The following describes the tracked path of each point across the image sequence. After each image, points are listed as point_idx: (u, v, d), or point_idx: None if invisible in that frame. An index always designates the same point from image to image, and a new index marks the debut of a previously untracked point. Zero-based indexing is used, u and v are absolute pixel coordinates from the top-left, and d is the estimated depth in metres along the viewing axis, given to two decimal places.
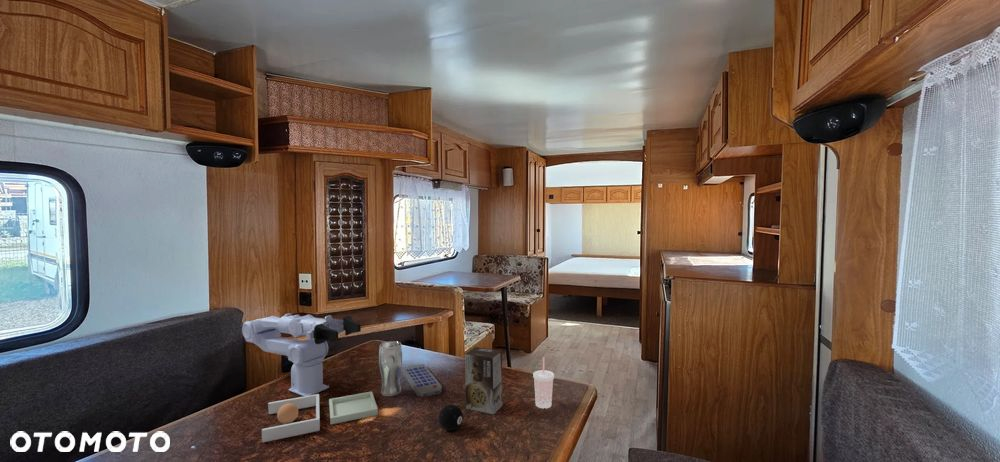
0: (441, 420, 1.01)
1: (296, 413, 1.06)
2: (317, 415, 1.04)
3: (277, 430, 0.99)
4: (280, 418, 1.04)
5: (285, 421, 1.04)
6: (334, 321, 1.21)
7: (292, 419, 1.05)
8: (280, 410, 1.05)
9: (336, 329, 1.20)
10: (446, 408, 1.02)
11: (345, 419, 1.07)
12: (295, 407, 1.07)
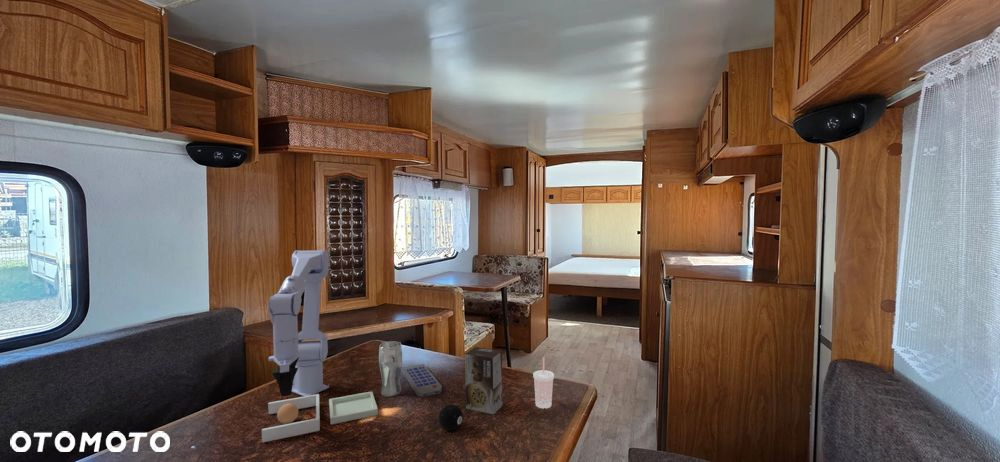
0: (441, 420, 1.01)
1: (296, 413, 1.06)
2: (317, 415, 1.04)
3: (277, 430, 0.99)
4: (280, 418, 1.04)
5: (285, 421, 1.04)
6: None
7: (292, 419, 1.05)
8: (280, 410, 1.05)
9: None
10: (446, 408, 1.02)
11: (345, 419, 1.07)
12: (295, 407, 1.07)
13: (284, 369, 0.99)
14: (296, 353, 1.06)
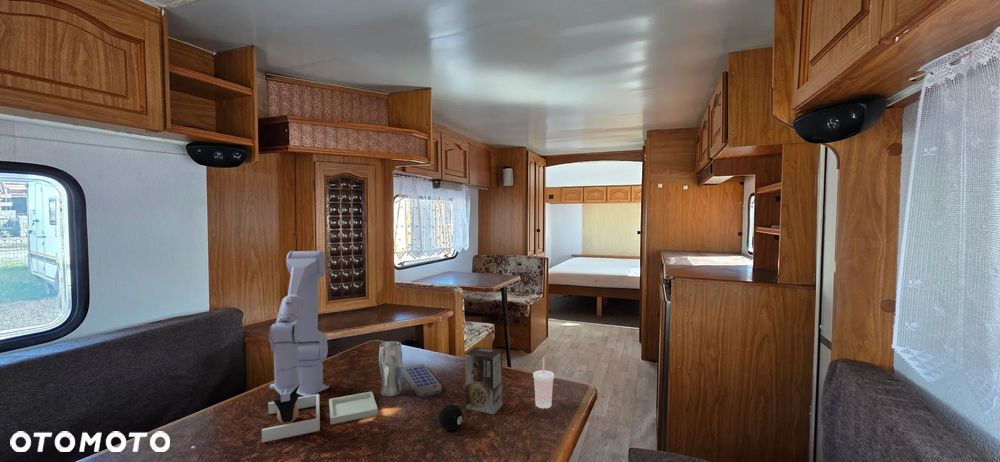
0: (441, 420, 1.01)
1: (296, 413, 1.06)
2: (317, 415, 1.04)
3: (277, 430, 0.99)
4: (280, 418, 1.04)
5: None
6: None
7: (292, 419, 1.05)
8: None
9: None
10: (446, 408, 1.02)
11: (345, 419, 1.07)
12: (295, 407, 1.07)
13: (285, 398, 1.00)
14: (297, 381, 1.06)
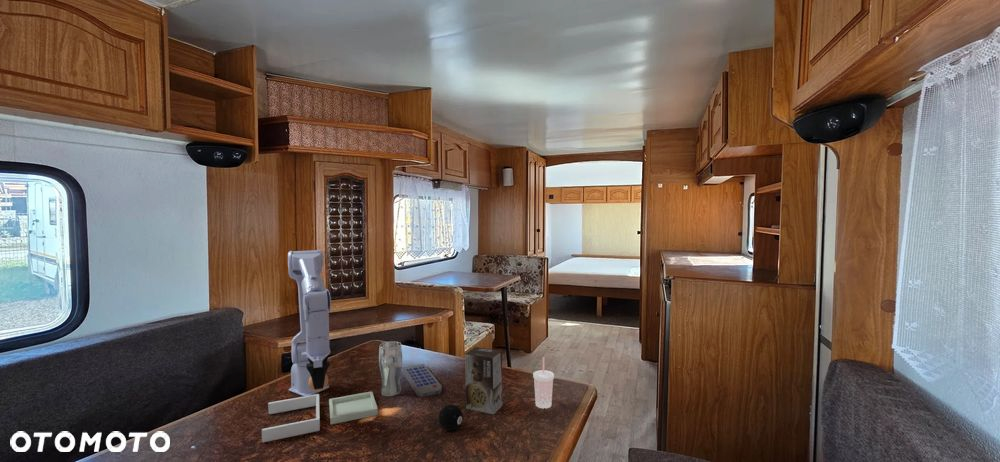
0: (441, 420, 1.01)
1: (326, 381, 1.09)
2: (317, 415, 1.04)
3: (277, 430, 0.99)
4: (311, 385, 1.07)
5: None
6: None
7: (323, 387, 1.08)
8: (311, 378, 1.08)
9: None
10: (446, 408, 1.02)
11: (345, 419, 1.07)
12: (325, 375, 1.10)
13: (317, 364, 1.02)
14: (328, 349, 1.09)
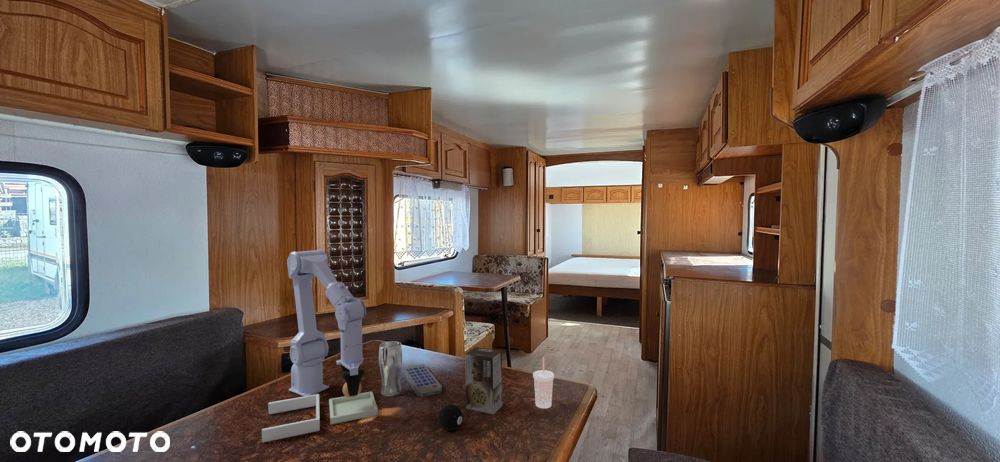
0: (441, 420, 1.01)
1: (360, 388, 1.13)
2: (317, 415, 1.04)
3: (277, 430, 0.99)
4: (346, 392, 1.11)
5: None
6: None
7: None
8: (346, 385, 1.12)
9: None
10: (446, 408, 1.02)
11: (345, 419, 1.07)
12: None
13: (354, 372, 1.06)
14: (361, 357, 1.13)
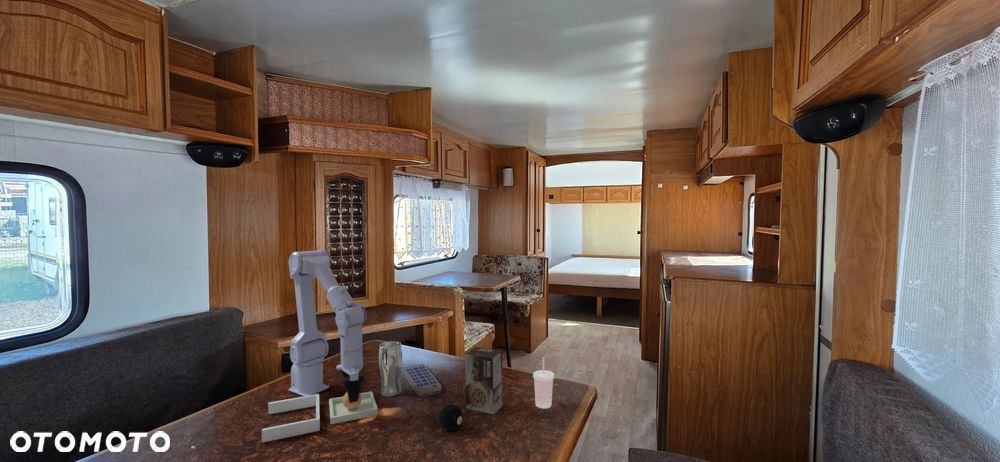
0: (441, 420, 1.01)
1: (360, 399, 1.13)
2: (317, 415, 1.04)
3: (277, 430, 0.99)
4: (346, 403, 1.11)
5: (351, 406, 1.11)
6: None
7: (357, 404, 1.12)
8: (346, 396, 1.12)
9: None
10: (446, 408, 1.02)
11: (345, 419, 1.07)
12: (359, 393, 1.14)
13: (354, 378, 1.06)
14: (361, 362, 1.13)
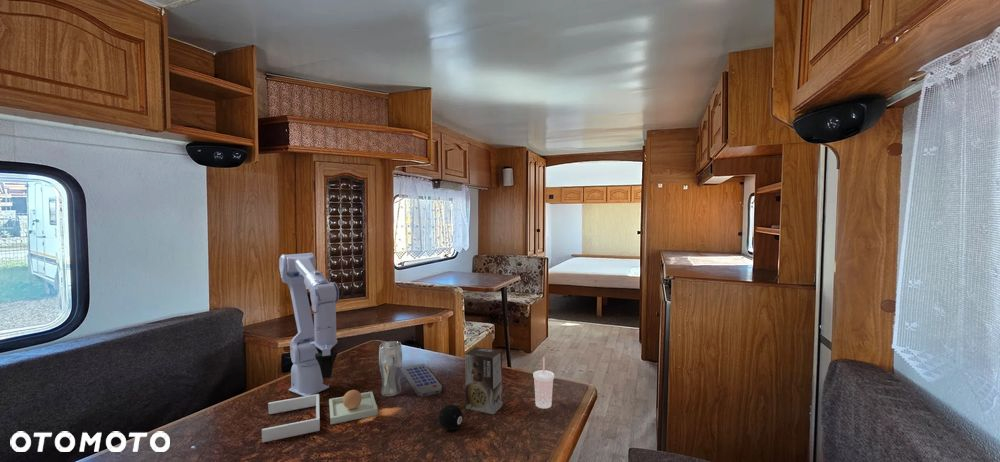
0: (441, 420, 1.01)
1: (360, 399, 1.13)
2: (317, 415, 1.04)
3: (277, 430, 0.99)
4: (346, 403, 1.11)
5: (351, 406, 1.11)
6: None
7: (357, 404, 1.12)
8: (346, 396, 1.12)
9: None
10: (446, 408, 1.02)
11: (345, 419, 1.07)
12: (359, 393, 1.14)
13: (326, 353, 1.08)
14: (335, 339, 1.14)
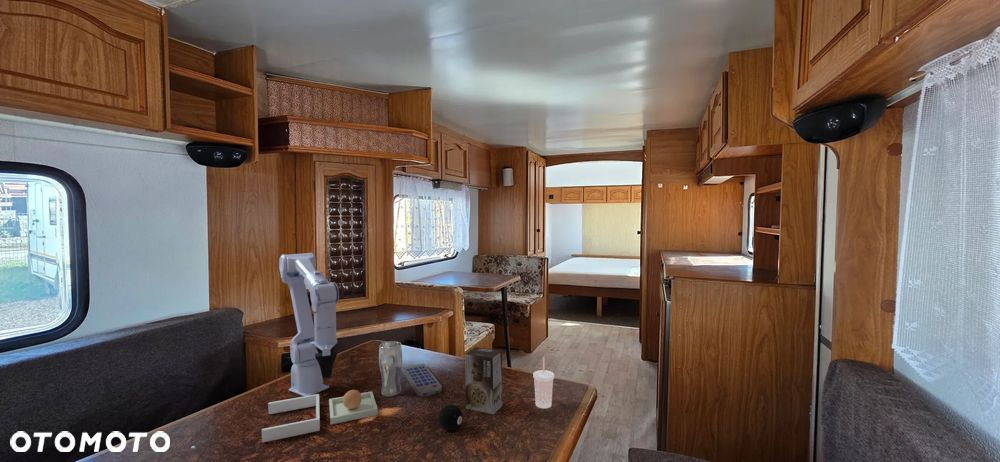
0: (441, 420, 1.01)
1: (360, 399, 1.13)
2: (317, 415, 1.04)
3: (277, 430, 0.99)
4: (346, 403, 1.11)
5: (351, 406, 1.11)
6: None
7: (357, 404, 1.12)
8: (346, 396, 1.12)
9: None
10: (446, 408, 1.02)
11: (345, 419, 1.07)
12: (359, 393, 1.14)
13: (326, 353, 1.08)
14: (335, 339, 1.14)
